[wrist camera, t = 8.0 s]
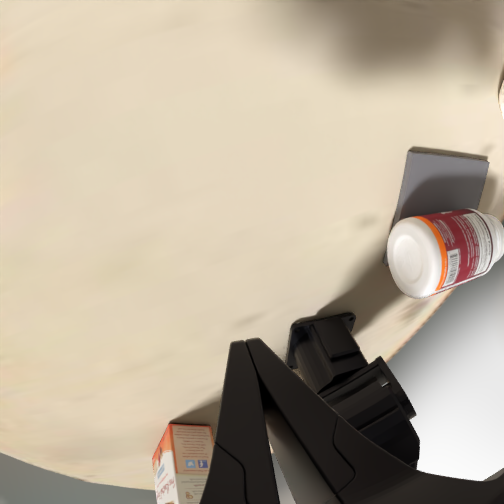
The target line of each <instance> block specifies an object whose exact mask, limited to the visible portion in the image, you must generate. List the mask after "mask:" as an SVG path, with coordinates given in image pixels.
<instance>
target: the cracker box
mask: <svg viewBox="0 0 504 504" xmlns="http://www.w3.org/2000/svg"><path fill="white" fill-rule="evenodd" d="M213 446H214V440H213V435H212V429H211V426H200V425H182V424H169V425H168V427H167V429H166V431H165V433H164V435H163V437H162V439H161V442H160V444H159V446H158V448H157V450H156V452H155V454H154V456H153V458H152V461H153V470H154V481H155V489H156V498H157V504H199V502H200V499H201V496H202V493H203V490H204V487H205V483H206V480H207V476H208V473H209V468H210V463H211V458H212V452H213Z"/></svg>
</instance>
